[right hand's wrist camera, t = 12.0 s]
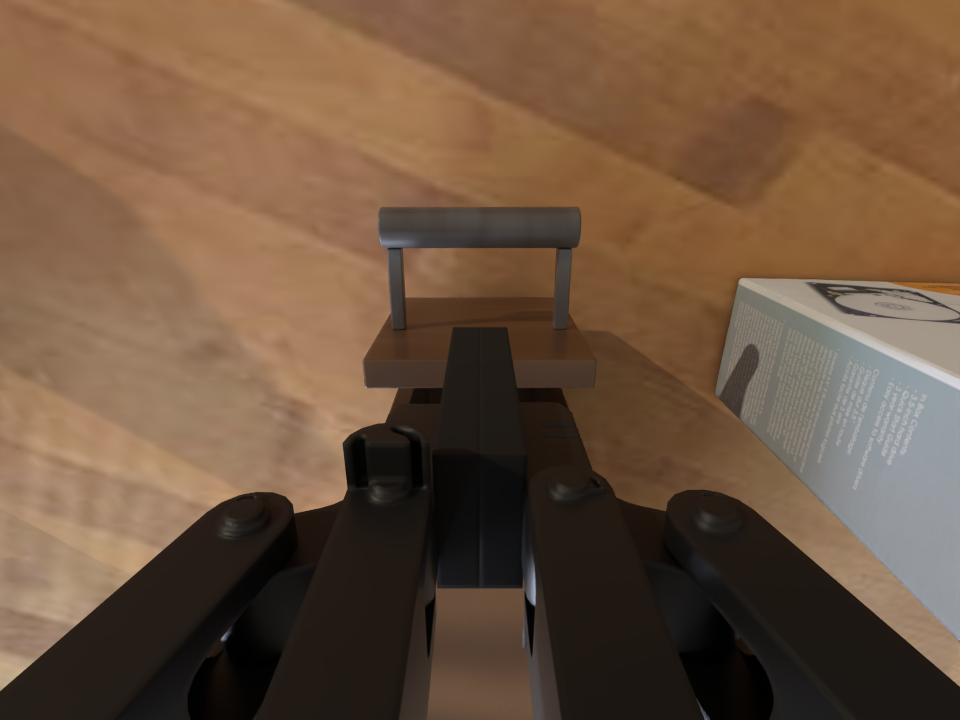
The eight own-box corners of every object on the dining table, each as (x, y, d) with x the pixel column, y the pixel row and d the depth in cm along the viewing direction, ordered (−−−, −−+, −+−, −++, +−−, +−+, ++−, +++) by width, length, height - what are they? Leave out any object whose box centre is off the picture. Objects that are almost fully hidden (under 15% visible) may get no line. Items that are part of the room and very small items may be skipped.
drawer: (393, 198, 26) (348, 216, 17) (565, 198, 26) (610, 216, 17) (416, 582, 36) (394, 723, 27) (543, 582, 36) (565, 723, 27)
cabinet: (400, 431, 32) (360, 563, 22) (559, 431, 32) (598, 563, 22) (415, 673, 40) (392, 857, 29) (544, 673, 40) (567, 857, 29)
